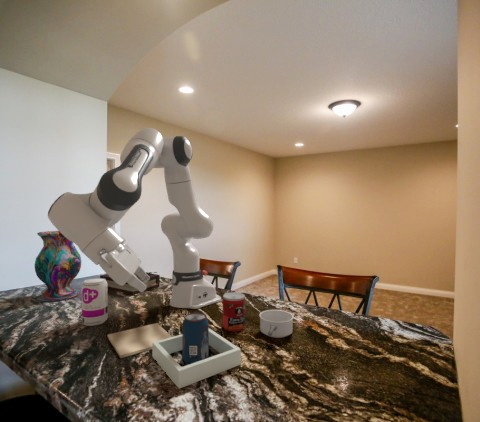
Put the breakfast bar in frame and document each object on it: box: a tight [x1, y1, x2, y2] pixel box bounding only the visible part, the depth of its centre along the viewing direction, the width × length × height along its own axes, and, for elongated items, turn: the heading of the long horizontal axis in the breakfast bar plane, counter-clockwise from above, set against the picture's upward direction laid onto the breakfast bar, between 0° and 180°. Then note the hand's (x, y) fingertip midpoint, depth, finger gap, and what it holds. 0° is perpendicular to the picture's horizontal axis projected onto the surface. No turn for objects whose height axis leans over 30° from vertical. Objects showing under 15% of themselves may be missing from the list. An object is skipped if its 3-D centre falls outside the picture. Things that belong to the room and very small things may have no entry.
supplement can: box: [81, 277, 108, 327], centre depth 103 cm, size 8×8×15 cm
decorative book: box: [99, 271, 161, 296], centre depth 149 cm, size 19×8×30 cm
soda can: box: [181, 311, 210, 365], centre depth 77 cm, size 7×7×12 cm
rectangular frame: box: [151, 328, 242, 390], centre depth 77 cm, size 17×17×4 cm
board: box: [107, 322, 173, 359], centre depth 89 cm, size 16×16×1 cm
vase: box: [34, 230, 82, 302], centre depth 133 cm, size 18×18×30 cm
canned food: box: [222, 291, 246, 332], centre depth 99 cm, size 8×8×11 cm
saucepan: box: [258, 309, 295, 339], centre depth 91 cm, size 12×20×6 cm, turn 165°
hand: (146, 284), depth 74 cm, fingers open, 8 cm apart
